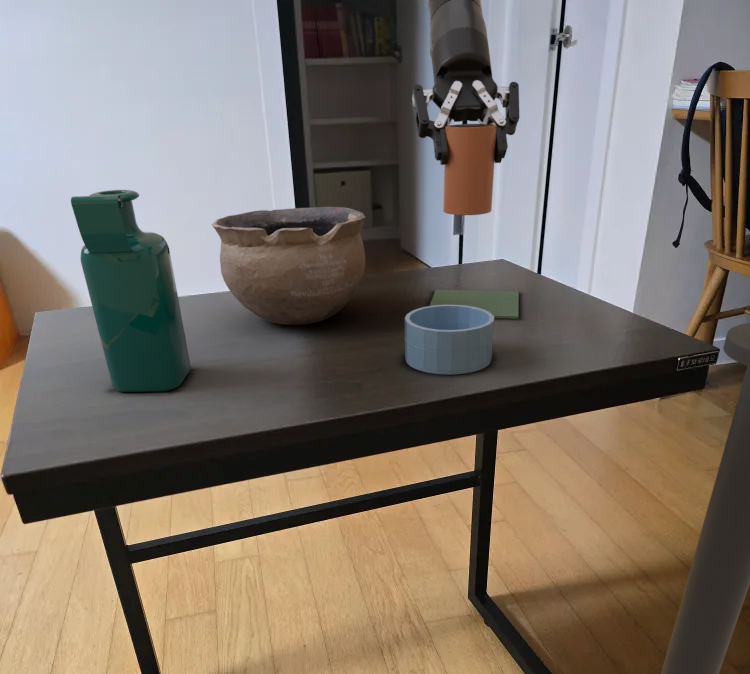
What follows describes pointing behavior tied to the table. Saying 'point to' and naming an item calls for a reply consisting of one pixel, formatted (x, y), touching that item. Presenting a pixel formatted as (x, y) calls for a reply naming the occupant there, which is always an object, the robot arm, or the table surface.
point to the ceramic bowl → (292, 261)
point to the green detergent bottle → (131, 294)
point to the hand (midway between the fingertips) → (472, 159)
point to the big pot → (449, 339)
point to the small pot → (469, 169)
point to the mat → (481, 301)
